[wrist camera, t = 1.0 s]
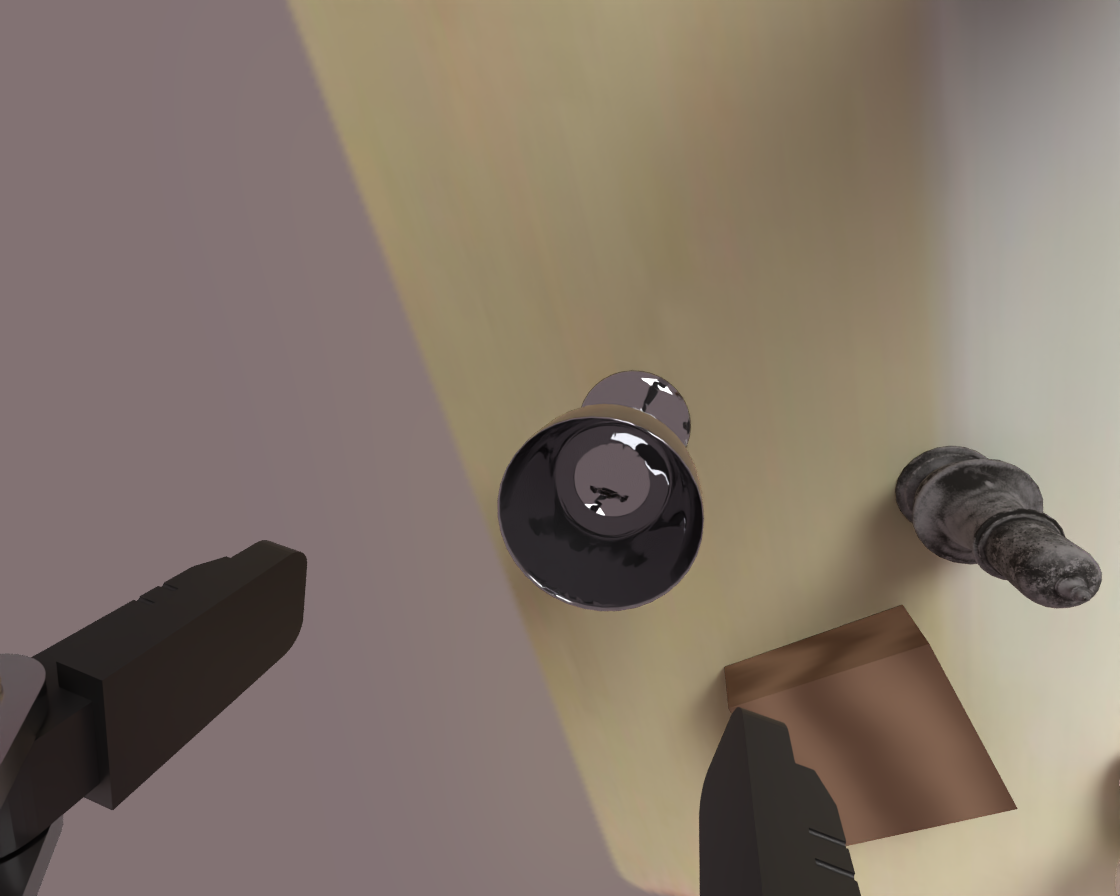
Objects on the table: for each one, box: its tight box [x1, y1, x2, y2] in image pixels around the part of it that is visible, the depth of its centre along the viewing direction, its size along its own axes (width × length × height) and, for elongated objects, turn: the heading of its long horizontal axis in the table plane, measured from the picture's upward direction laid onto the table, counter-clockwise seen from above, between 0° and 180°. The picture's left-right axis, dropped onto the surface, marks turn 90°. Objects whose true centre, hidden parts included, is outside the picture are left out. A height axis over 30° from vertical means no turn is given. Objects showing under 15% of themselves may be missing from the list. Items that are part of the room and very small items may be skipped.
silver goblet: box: [498, 370, 704, 611], centre depth 28 cm, size 8×8×15 cm
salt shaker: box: [896, 446, 1102, 608], centre depth 26 cm, size 6×6×12 cm
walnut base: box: [725, 605, 1017, 846], centre depth 35 cm, size 12×12×4 cm
